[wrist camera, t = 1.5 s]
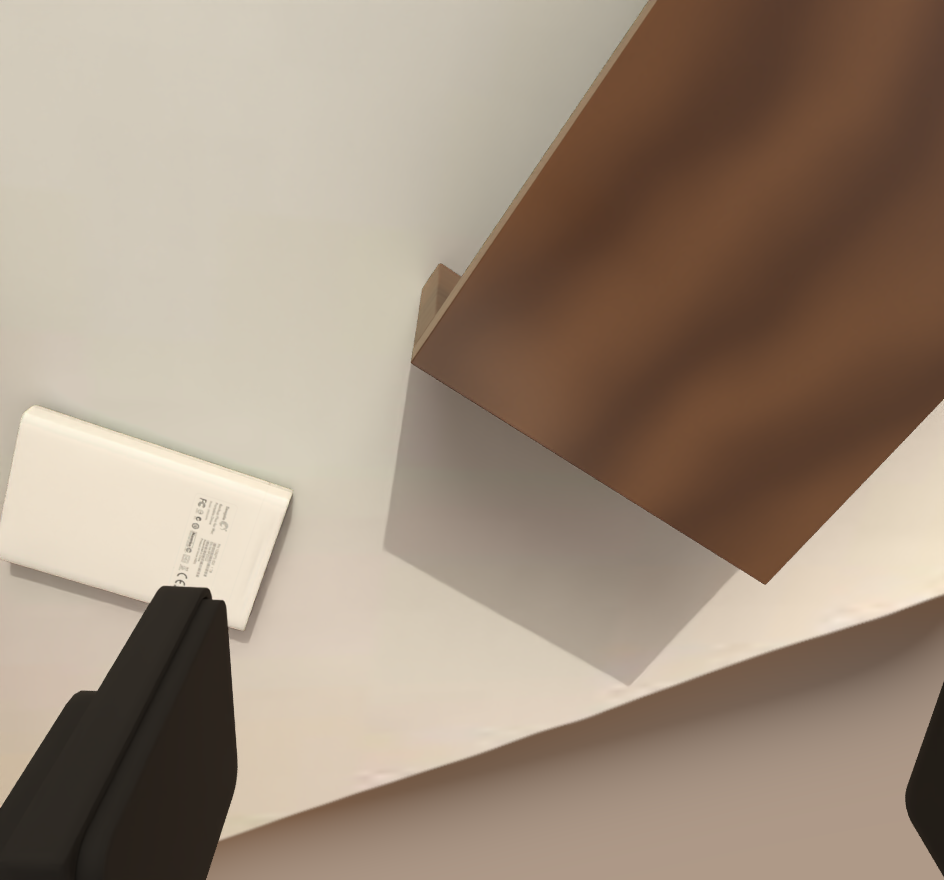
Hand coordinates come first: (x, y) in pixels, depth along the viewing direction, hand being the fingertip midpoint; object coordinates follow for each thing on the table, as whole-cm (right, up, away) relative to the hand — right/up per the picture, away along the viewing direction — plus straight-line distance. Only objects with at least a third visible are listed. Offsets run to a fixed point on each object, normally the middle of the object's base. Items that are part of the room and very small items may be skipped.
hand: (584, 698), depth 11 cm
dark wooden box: (+9, +14, +25) cm, 30 cm away
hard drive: (-17, 0, +31) cm, 36 cm away
